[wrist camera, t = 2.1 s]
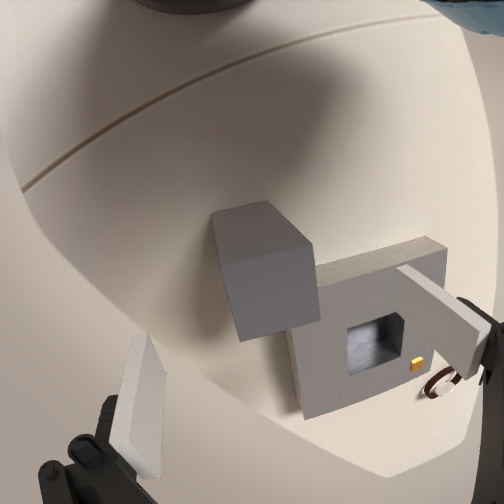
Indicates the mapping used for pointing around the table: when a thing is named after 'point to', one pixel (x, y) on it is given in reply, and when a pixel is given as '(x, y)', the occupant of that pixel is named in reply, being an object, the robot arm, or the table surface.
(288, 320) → the plug
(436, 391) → the watch
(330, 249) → the table surface
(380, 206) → the table surface
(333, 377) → the socket
